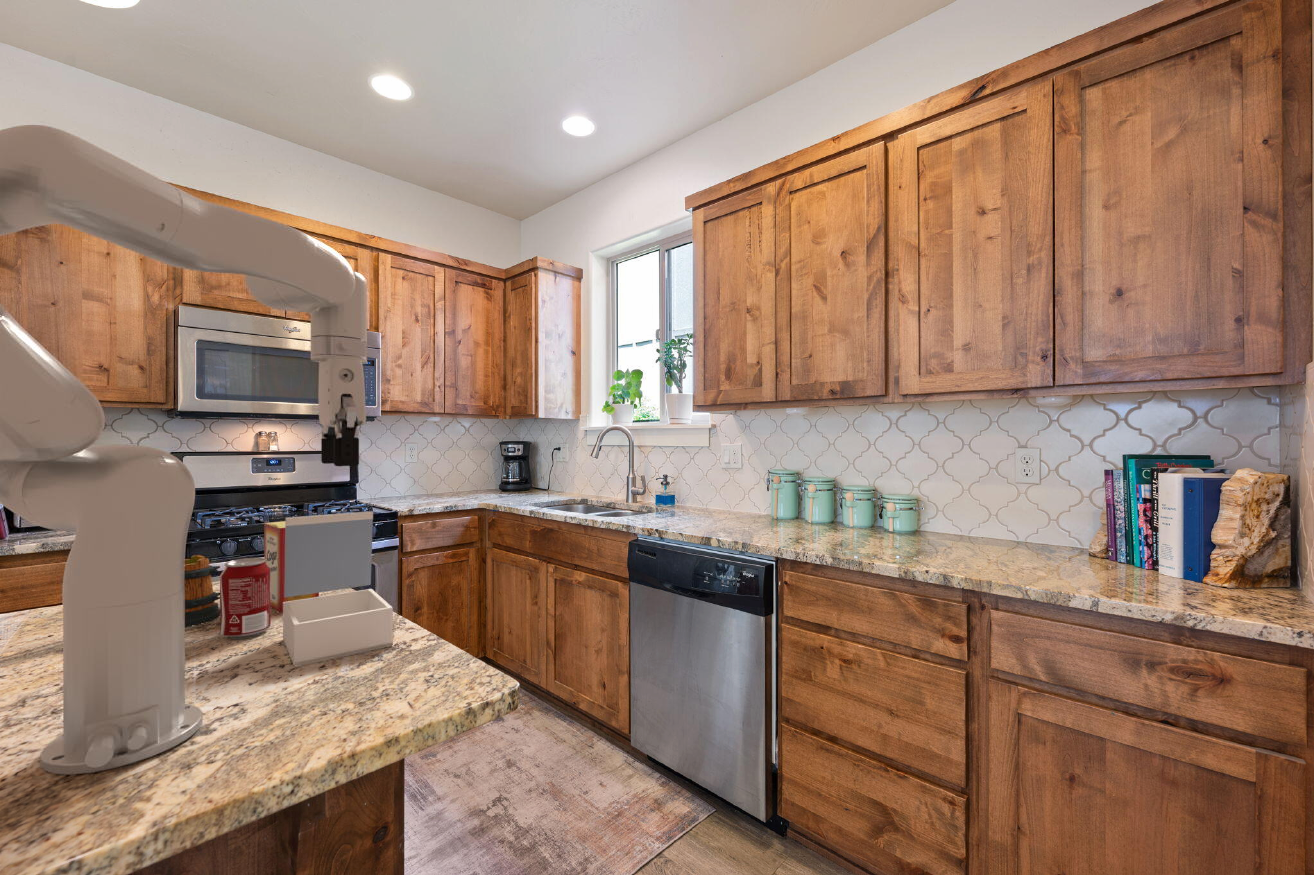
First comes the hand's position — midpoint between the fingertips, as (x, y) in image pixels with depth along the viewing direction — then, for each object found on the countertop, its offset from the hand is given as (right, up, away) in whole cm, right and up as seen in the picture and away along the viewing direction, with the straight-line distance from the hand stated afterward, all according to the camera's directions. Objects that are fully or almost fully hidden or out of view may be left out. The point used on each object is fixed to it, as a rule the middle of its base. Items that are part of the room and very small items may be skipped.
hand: (339, 464), depth 87 cm
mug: (-36, -29, +13) cm, 48 cm away
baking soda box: (-23, -29, +24) cm, 43 cm away
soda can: (-19, -29, +7) cm, 35 cm away
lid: (-6, -15, +8) cm, 18 cm away
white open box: (-2, -28, +3) cm, 29 cm away
